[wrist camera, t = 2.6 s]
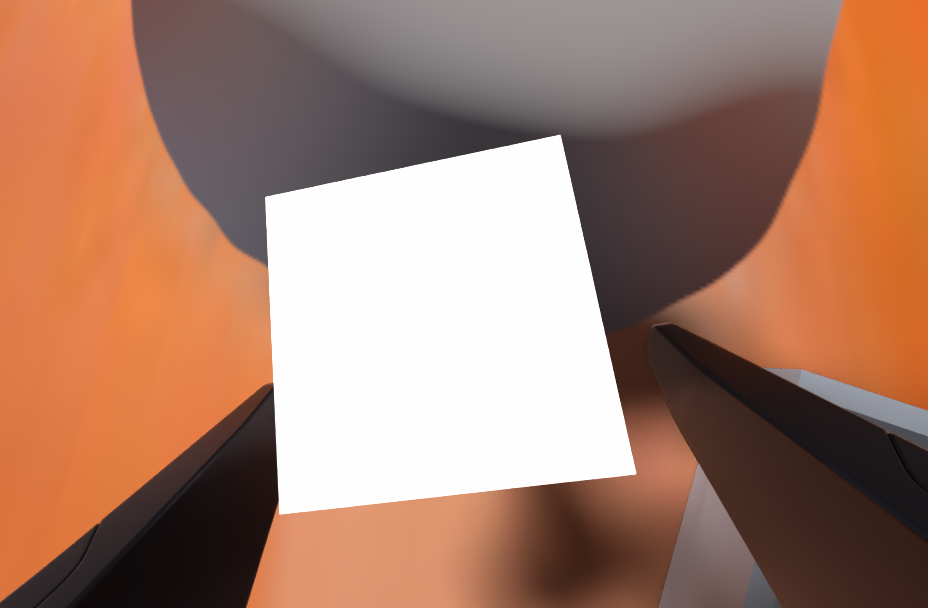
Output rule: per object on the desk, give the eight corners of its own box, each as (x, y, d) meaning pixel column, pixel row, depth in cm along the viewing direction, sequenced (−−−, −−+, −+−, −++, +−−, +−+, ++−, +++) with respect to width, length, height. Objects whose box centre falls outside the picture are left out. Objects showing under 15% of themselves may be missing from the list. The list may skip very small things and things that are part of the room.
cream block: (538, 387, 16) (635, 473, 4) (439, 401, 16) (279, 514, 5) (520, 289, 17) (560, 135, 5) (427, 305, 17) (265, 197, 6)
